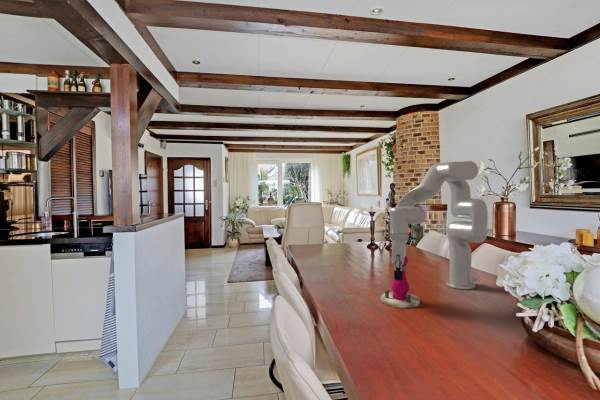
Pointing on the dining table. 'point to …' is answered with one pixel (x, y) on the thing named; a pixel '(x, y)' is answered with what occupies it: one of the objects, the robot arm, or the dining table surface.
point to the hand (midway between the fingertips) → (399, 277)
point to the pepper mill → (401, 284)
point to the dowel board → (390, 301)
